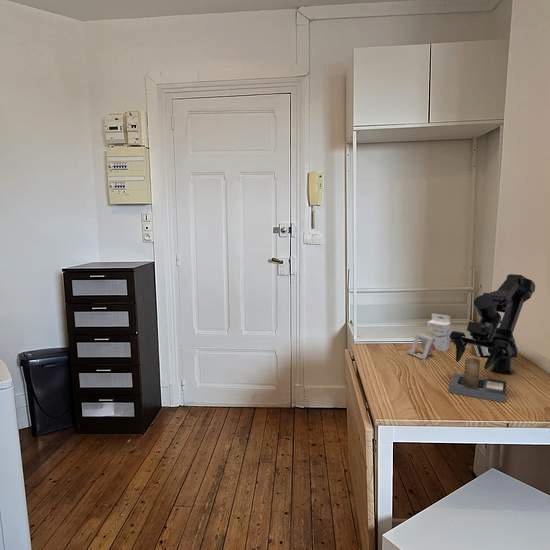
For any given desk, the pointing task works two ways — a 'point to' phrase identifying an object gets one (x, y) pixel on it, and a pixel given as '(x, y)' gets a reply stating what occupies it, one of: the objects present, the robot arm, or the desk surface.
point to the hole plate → (490, 389)
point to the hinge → (481, 350)
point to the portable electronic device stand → (425, 343)
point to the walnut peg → (471, 372)
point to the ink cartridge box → (439, 332)
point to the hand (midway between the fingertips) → (470, 365)
